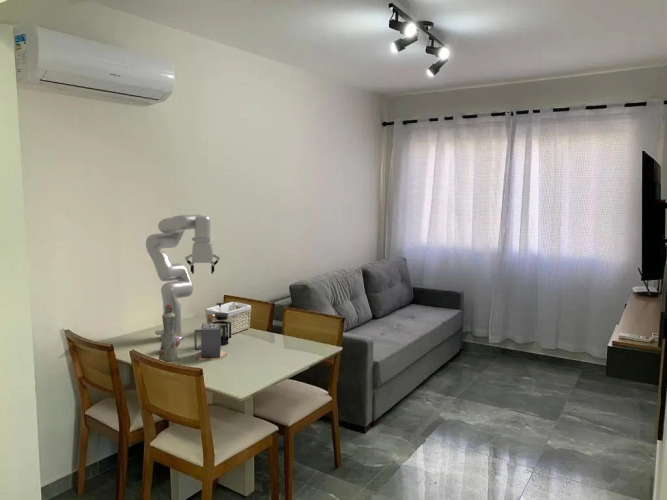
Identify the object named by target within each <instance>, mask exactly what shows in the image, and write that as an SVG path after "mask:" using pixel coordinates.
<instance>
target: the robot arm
mask: <svg viewBox="0 0 667 500" xmlns="http://www.w3.org/2000/svg"><path fill="white" fill-rule="evenodd" d="M157 227H158V230H159V231H160V233H153V234H150V235H148V236H147V238H146V241H145V248H146V251H147V253H148V255H149V257H150V258H151V260H152V262H153V265H154V268H155V270H156V274H157V277H158V278H159V280H160V281H161V282H166V283H164V284H163V285H162V286H161V288H160V294H161V297H162V313H163V314H164V313H165V306H166V305H172V306H173V307H172V312H173V313H174V314H175V321H174V328H173V330H174V333H178V334H179V335H178V336H179V337H180V340H182V339H184V338H185V334H184V333H183V332H182V305H181V303H180V301H179V300H178V299H181V298H186V297H190V296H192V294H193V292H194V286H193V283H192V281H191V278H190V274H189V272H188V270H187V267H186V266H185V265H184V264H183V263H172V262H171V261H170V258H169V256H168V254H167V253H165V251H164V250H162V249H172V248H176V247H177V246H179V243H180V241H181V240H182V238H183V235H184V234H185V231H186V230H194V236H193V237H191V241H193V244H192V247H191V248H192V249H191V254H188V255H187V256H185V257H184V260H185V262H186V263H187V264H188V265H189V266H190V273H191V274H192V275H193V274H194V273H195V266H194V265H195V264H196V263H197V264H198V263H199V264H203V263H204V264H211V267H210V268H211V269H210V271H211V272H210V273H211V275H213V274H214V273H215V266H216V265H217V264H218V263H219V261H220V259H221V258H220V256H218V255H216V254H214V253H213V244H212V242H211V218H210V216H209V215H208V216H207V215H202V214H181V215H175V216H172V217H166V218H163V219H161V220H160V221H159V222H158V224H157ZM190 258H191V260H190ZM213 259H216V260H215V261H214V260H213ZM163 314H162V315H163ZM163 332H164V326H163V329H161V330H155V335H157V336H160V339H161V340H162V337H163Z"/></svg>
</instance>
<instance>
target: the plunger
mask: <svg viewBox="0 0 667 500" xmlns="http://www.w3.org/2000/svg"><path fill="white" fill-rule="evenodd" d="M207 321H210V327H212V321H215V314H208V315H207V319H206V322H207Z"/></svg>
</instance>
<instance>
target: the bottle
mask: <svg viewBox="0 0 667 500" xmlns="http://www.w3.org/2000/svg"><path fill="white" fill-rule="evenodd" d="M172 307H173V306H172V305H166V306H165V313H164V314H162V315H161V318H162V324H163V326H164V332H163V337H162V339H161V343H160V349H159V354H158V355H159V356H158V359H159V361H160V360H163V361H166V363H169V362H170V363H171V362H175V361H177V360H178V359H179V356H178V347H177V348H176V341H175V336H174V330H173V328H174V321H175V314H174V313H173V312H172Z"/></svg>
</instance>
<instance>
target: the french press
mask: <svg viewBox="0 0 667 500" xmlns="http://www.w3.org/2000/svg"><path fill="white" fill-rule="evenodd" d="M223 304H225V303H224V302H217V303H216V305H215V306H219V307H221V305H223ZM213 314H215V318H216V319H217V320H226V319H228V315H229V314H228V313H223V312H219V313H213ZM213 323H221V324H226V325H221V328H223V331H221V347H222V346H224V347H225V346H227V345H228V344H229V339H231V338H232V335H231V322H225V321H216V322H213ZM213 323H212V324H213ZM228 326H229V336H228Z"/></svg>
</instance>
